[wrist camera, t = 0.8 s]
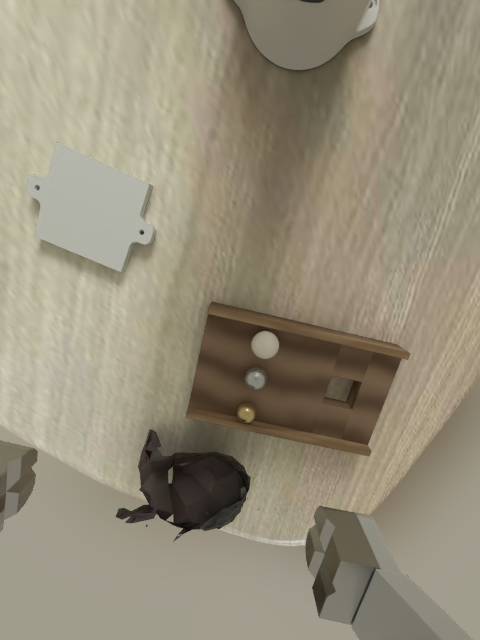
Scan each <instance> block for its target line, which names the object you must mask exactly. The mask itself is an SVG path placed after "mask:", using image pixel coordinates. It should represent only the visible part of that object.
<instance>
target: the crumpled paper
mask: <svg viewBox="0 0 480 640" xmlns="http://www.w3.org/2000/svg"><path fill="white" fill-rule="evenodd" d="M153 429H154V428H153ZM160 438H161V437H160ZM160 446H161V444H160V442H159V438H158V436H157V434H156V432H155V431H153V430H149V433H148V437H147V440H146V443H145V445H144V447H143V450H142V454H141V458H140V462H139V465H138V468H139V472H140V479H141V488H140V491H142V492H143V493H144V495H145V497H146V499H147V501H148V503H149V505H143V506H141V507H139V508H137V509H135V510H133V511H129V510H127V509H125V508H121V509H119V510H118V513H117V515H116V517H118V518H120V519H125V518H127V517H129V516H131V517H130V518H129V519H128V520H127V521H126V523H135V522H140V521H144V520H149V519H153V518H154V517H155V515H156V514H158V515H159V517H160V518H161V519H163V520H165V521H166V519H168V518H169V517H170V516H171V515H172V514H173V515H174V523H173V522H169V521H167V522H169V523H171V524H172V525H174V526H177V527H180V528H183V530H182V531H181V532H180V533H179V534H184V533H186V532H188V531H190V530H192V529H202V530H204V531H207V530H211V529H215V528H217V529H220V528H221V527H223V526H225V525H227V524H229V523H230V522H232V521H233V520H234V518H235V517H236V516H237V515H238V514H239V513H240V511H241V508H242V506H243V503H245V501H246V495H247V493H248V490H249V486H250V476H248V475H247V473H246V471H245V468H244V466H243V465H241V464H240V463H239V462H238V461H237V460H236V459H234V458H233V457H232V456H228V455H224V454H221V453H218V452H207V453H175V454H173V455H172V456H162V455H161V453H160V452H159V450H158V448H157V447H160ZM172 466H173V480H172V483H170V484H168V470H169V469H170V468H171V467H172ZM247 499H248V498H247ZM259 508H260V507H259ZM256 510H257V509H256ZM258 510H259V509H258ZM146 526H147V525H146ZM179 537H180V536H178V537H176V538H175V540H176V539H177V538H179ZM175 540H174V541H175Z"/></svg>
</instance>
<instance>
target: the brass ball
mask: <svg viewBox="0 0 480 640" xmlns="http://www.w3.org/2000/svg"><path fill="white" fill-rule="evenodd" d="M255 416H256V410H255V408H254V406H253V405H252V404H250V403H243V404H241V405H240V406H239V407H238V409H237V417H238V419H239V420H240V421H241V422H243V423H250V422H252V421H253V420H254V418H255Z"/></svg>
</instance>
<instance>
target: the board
mask: <svg viewBox="0 0 480 640" xmlns="http://www.w3.org/2000/svg"><path fill="white" fill-rule="evenodd" d="M262 331H268V332H271V333H273V334H274V335H275V336H276V337H277V339H278V341H279V349H278V352H277V353H276V355H275V356H273V357H272V358H269V359H261V358H259V357H257V356H256V355H255V354H254V353H253V351H252V348H251V342H252V339H253V337H254V336H255V335H256V334H257V333H259V332H262ZM410 354H411V353H409V352H408V351H406V350H404V349H403V348H401V347H400V346H398V345H396V344H392V343H388V342H383V341H379V340H375V339H370V338H366V337H362V336H357V335H353V334H349V333H344V332H340V331H336V330H332V329H327V328H323V327H319V326H314V325H310V324H306V323H301V322H297V321H293V320H288V319H284V318H280V317H275V316H271V315H267V314H263V313H258V312H254V311H250V310H245V309H241V308H237V307H232V306H228V305H224V304H219V303H215V302H212V303H211V304H210V306H209V309H208V317H207V322H206V327H205V331H204V336H203V341H202V345H201V350H200V355H199V360H198V364H197V369H196V374H195V378H194V383H193V388H192V392H191V397H190V402H189V406H188V409H187V413H186V417H185V418H190V419H195V420H199V421H204V422H209V423H214V424H218V425H223V426H228V427H232V428H237V429H242V430H247V431H251V432H256V433H261V434H266V435H270V436H275V437H280V438H284V439H289V440H294V441H299V442H303V443H308V444H313V445H318V446H322V447H327V448H332V449H336V450H341V451H346V452H351V453H355V454H360V455H365V456H370V454H371V450H370V448H369V447H368V443H369V440H370V437H371V435H372V432H373V430H374V427H375V425H376V422H377V420H378V417H379V415H380V412H381V410H382V407H383V404H384V402H385V399H386V397H387V394H388V392H389V389H390V387H391V384H392V382H393V379H394V376H395V374H396V371H397V369H398V366H399V364H400V361H401V359H402V358H403V359H407V360H408V359H409V356H410ZM252 367H259V368H261V369H263V370H264V371H265V373H266V375H267V383H266V385H265V386H264V387H263V388H262V389H260V390H252V389H250V388H248V387H247V385H246V384H245V380H244V377H245V373H246V372H247V371H248V370H249V369H250V368H252ZM331 375H333V376H337V377H342V378H346V379H351V380H354V383H353V386H352V388H351V391H350V394H349V397H348V400H347V402H344V401H339V400H335V399H330V398H326V397H324V396H325V393H326V390H327V387H328V384H329V381H330V378H331ZM243 403H250V404H252V405H253V406H254V408H255V410H256V416H255V418H254V420H253V421H252V422H250V423H243V422H241V421H240V420H239V419H238V417H237V409H238V407H239V406H240V405H241V404H243Z"/></svg>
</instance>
